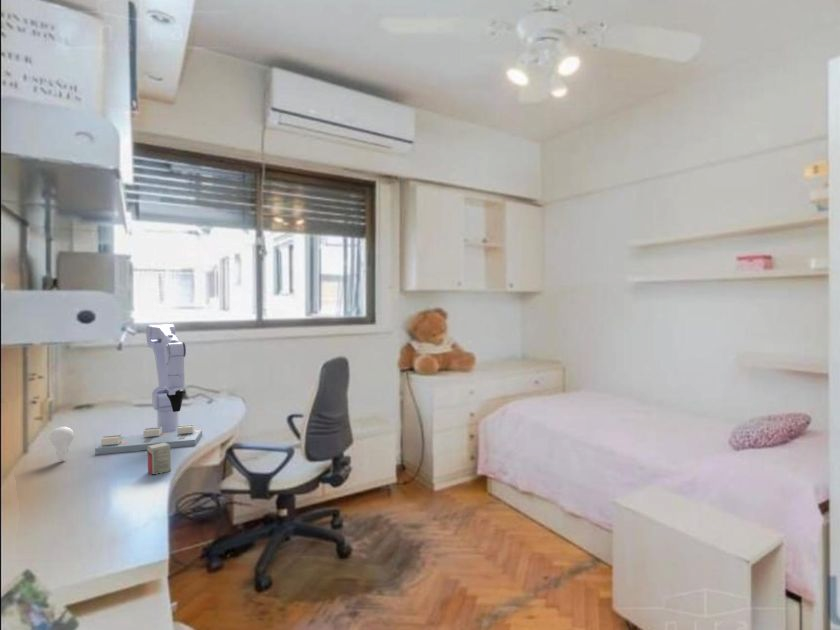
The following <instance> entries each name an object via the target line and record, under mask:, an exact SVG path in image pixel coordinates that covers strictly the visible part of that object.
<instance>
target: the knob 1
mask: <svg viewBox="0 0 840 630" xmlns="http://www.w3.org/2000/svg"><path fill="white" fill-rule="evenodd" d="M122 436H123V435H122V434H110V435H103V436H102V438H100V445H101V446H102V445H113V444H119V443H120V442H121V441H122Z"/></svg>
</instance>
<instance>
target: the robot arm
mask: <svg viewBox="0 0 840 630" xmlns="http://www.w3.org/2000/svg"><path fill="white" fill-rule="evenodd" d="M145 331H146V332H145V333H146V334H145V335H146V343H147V347H149V348H150V349H152V350H153V352H154V358H155V365H156V366H155V367H156V373H157V380H158V381H157V382H158V386H156V388H154V389H153V390H152V392H151V393H152V394H151V402H152V403H151V404H152V408H153V409H154V411H156V414H157V415H156V416H157V417H156V418H157V420H156V423H157V424H156V427H162V433H168V432H177V428H178V426H180V415H179V414H180V413H179V412H180V411H181V409H182V404H183V399H184V396H185V394H186V390H184V389H186V385H185V383H186V381H185V358H186V354H187V348H186V347H187V346H186V343H185V341H180V339H178V337H177V336H176V327H175V325H174V323H171V324H147V326H146V329H145Z"/></svg>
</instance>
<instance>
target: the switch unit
mask: <svg viewBox="0 0 840 630" xmlns="http://www.w3.org/2000/svg"><path fill="white" fill-rule="evenodd" d="M202 436H203V429H194V431H193V433H185V434H177V432H168V433H162V434H161V435H159V436H151V437H144V434H137V435H125V436H124V435H122V441H121V442H120V443H119V444H113V445H102V446H101V444H100V445H98V446H97V447H96V448H95V449H94V451H95V456H97V455H107V454H116V453H117V454H118V453H127V452H128V453H129V452H139V451H147V446H150V445H155V444H160V443H167V444H169V445H170V449H171V448H181V447H191V446H196V445H197V444H198V442H199V441H200V439H201V437H202Z"/></svg>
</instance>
